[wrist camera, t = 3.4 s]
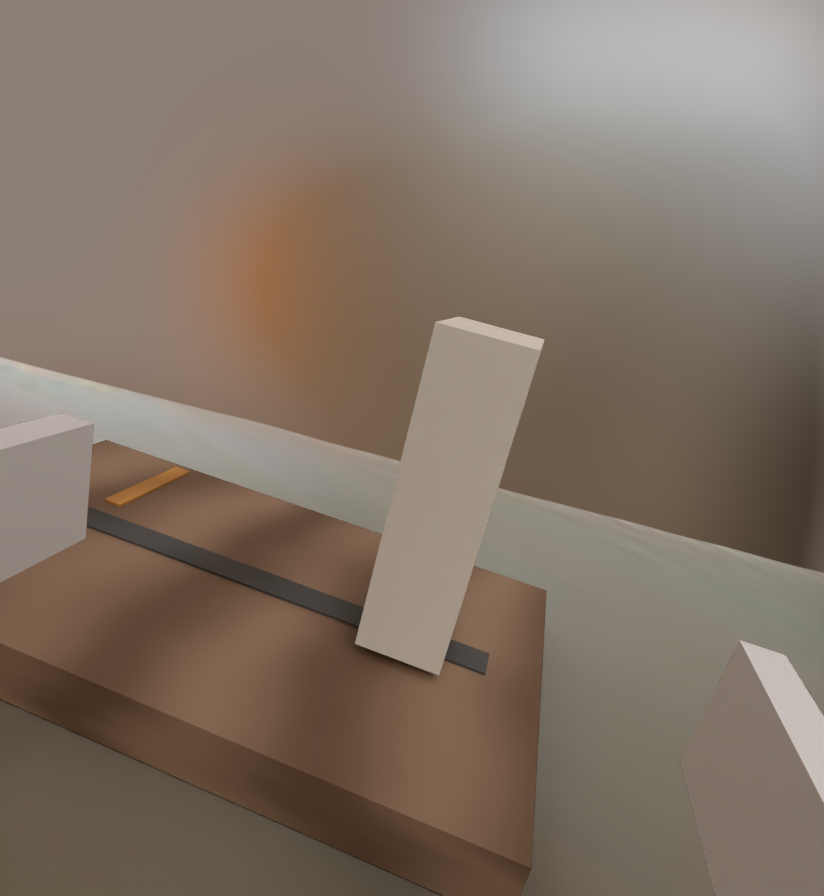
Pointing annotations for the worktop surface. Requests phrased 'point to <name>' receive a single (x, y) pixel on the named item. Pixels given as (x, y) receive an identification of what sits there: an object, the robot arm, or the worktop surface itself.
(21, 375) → the worktop surface
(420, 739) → the board
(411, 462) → the fader tab
